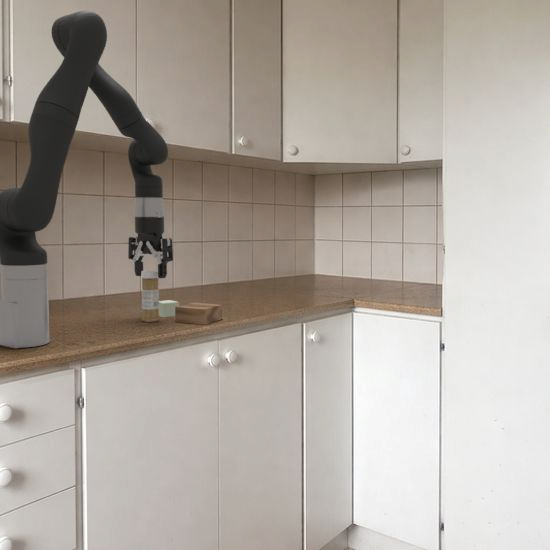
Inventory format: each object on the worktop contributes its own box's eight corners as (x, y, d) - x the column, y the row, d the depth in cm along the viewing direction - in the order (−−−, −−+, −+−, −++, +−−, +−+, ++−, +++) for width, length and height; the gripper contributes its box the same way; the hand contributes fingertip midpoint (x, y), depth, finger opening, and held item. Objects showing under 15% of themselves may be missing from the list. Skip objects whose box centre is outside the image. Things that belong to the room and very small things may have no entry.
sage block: (163, 317, 161) (163, 303, 161) (154, 315, 165) (154, 301, 164) (179, 316, 164) (179, 302, 164) (170, 313, 168) (170, 300, 168)
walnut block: (204, 324, 150) (204, 309, 150) (175, 321, 154) (175, 306, 154) (222, 319, 158) (222, 304, 158) (193, 316, 162) (193, 302, 162)
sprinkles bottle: (152, 318, 159) (152, 269, 157) (162, 320, 155) (162, 270, 154) (138, 320, 155) (137, 270, 154) (148, 322, 152) (147, 271, 151)
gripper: (119, 215, 154) (121, 276, 155) (158, 215, 145) (159, 280, 147) (141, 215, 160) (142, 274, 161) (179, 215, 152) (180, 277, 153)
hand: (150, 276), depth 154 cm, fingers open, 8 cm apart
